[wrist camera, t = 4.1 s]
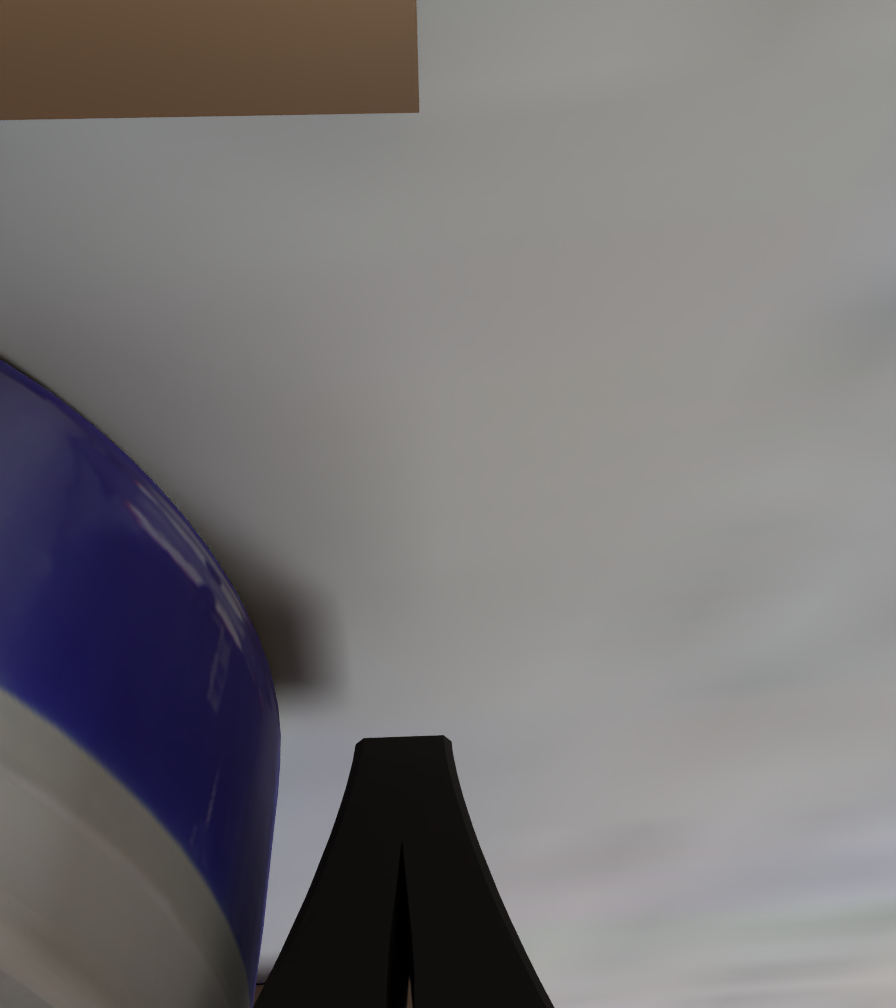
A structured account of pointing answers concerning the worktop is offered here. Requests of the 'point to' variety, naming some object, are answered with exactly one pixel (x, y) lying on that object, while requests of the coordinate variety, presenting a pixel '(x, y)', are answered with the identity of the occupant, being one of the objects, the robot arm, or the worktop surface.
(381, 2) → the wooden tray
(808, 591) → the worktop surface
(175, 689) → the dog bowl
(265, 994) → the robot arm
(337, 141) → the worktop surface
